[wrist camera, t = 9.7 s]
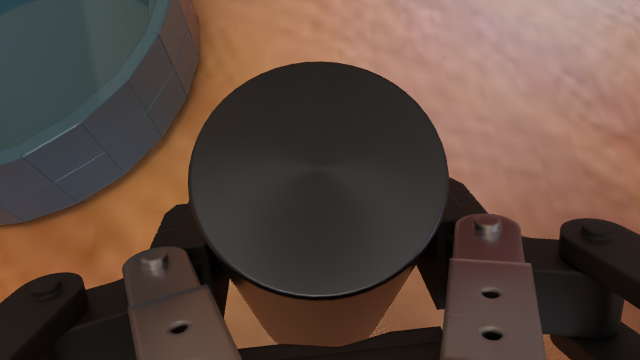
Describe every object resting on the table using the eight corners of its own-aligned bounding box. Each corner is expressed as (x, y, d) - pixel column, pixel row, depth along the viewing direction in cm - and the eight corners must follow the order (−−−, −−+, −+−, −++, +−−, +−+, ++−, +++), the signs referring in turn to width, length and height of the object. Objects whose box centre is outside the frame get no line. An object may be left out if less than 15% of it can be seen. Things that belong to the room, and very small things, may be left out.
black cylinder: (257, 365, 18) (188, 315, 9) (249, 232, 20) (185, 71, 11) (396, 350, 19) (475, 284, 9) (375, 219, 21) (423, 49, 11)
